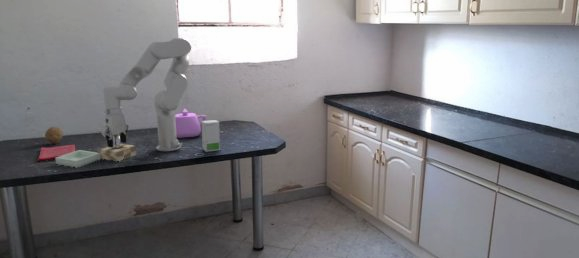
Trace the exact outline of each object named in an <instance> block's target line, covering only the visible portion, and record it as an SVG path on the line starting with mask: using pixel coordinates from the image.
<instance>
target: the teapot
mask: <svg viewBox="0 0 579 258" xmlns="http://www.w3.org/2000/svg"><path fill="white" fill-rule="evenodd" d="M199 118H200V119H201V118H202V120H201V121H207V119H208V118H207V115H205V114H201V115H197V114H196V113H194V112H189V111H188V109H187V108H184V109H183V111H181V113H175V121H176V134H177V139H183V138H196V137H198V136H199V135H200V133H202V123H200V119H199Z"/></svg>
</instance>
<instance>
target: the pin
mask: <svg viewBox="0 0 579 258" xmlns="http://www.w3.org/2000/svg"><path fill="white" fill-rule="evenodd" d="M120 135H121V133H119V134H116V135H113V136H112V140H113V145H114V149H120V148H121V144H122V142H121V138H120Z"/></svg>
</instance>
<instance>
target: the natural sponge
mask: <svg viewBox="0 0 579 258" xmlns="http://www.w3.org/2000/svg"><path fill="white" fill-rule="evenodd" d="M63 134H64V133H63V131H62V129H61V128H60V127H56V126H52V127H49V128H48V129H47V130H46V131H45V134H44V137H45V139H46V141H48V142H49V143H51V144H53V145H57V144H58V143H60V142H61V140H62V139H63Z"/></svg>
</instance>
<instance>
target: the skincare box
mask: <svg viewBox="0 0 579 258" xmlns="http://www.w3.org/2000/svg"><path fill="white" fill-rule="evenodd" d="M201 123H202V127H201V140H202V141H201V145H202V150H203V151H204V152H207V153H208V152H215V151H220V150H221V138H220V137H221V136H220V133H221V131H220V121H218V120H216V119H213V120H211V119H210V120H206V121H202V120H201ZM201 123H200V124H201Z"/></svg>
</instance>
